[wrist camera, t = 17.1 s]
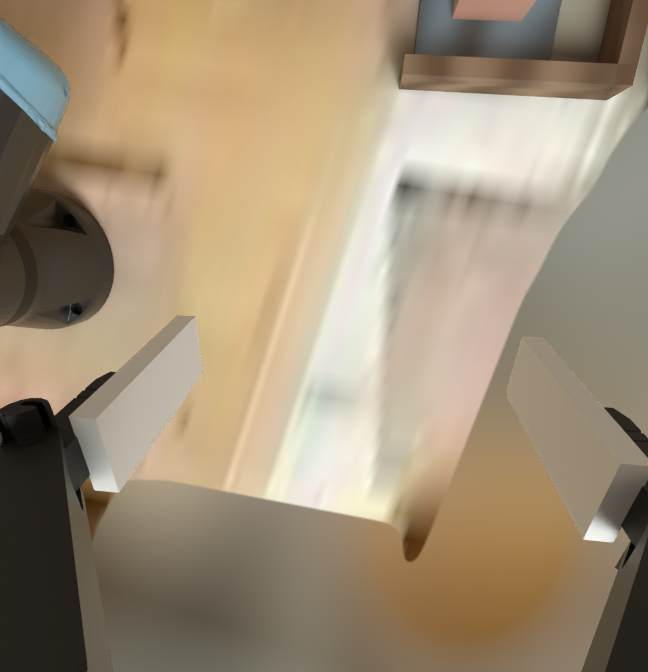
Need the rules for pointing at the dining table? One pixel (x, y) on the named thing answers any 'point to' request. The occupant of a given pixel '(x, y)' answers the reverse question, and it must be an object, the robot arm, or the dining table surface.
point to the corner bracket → (521, 53)
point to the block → (491, 9)
